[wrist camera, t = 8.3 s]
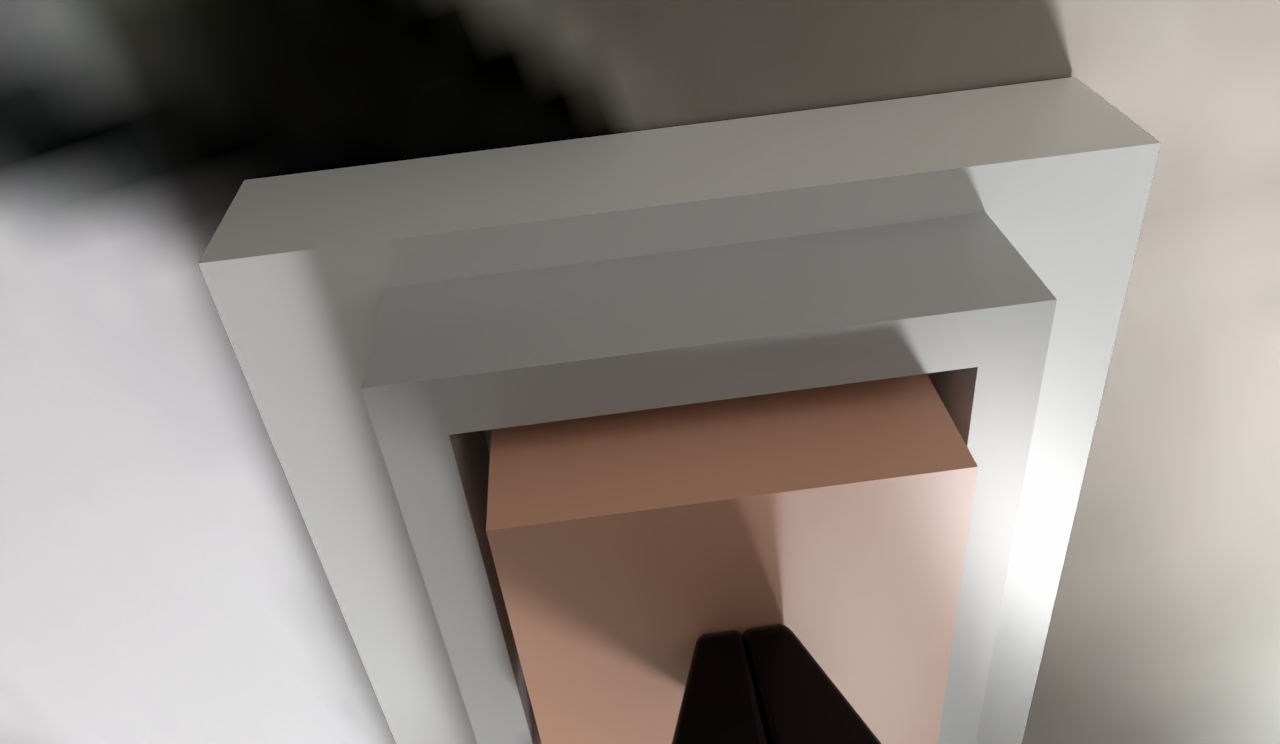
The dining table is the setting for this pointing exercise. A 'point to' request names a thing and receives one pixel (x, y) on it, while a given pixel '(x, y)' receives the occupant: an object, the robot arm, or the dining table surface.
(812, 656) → the robot arm
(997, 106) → the white long flat frame
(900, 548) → the terracotta square block
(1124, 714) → the dining table surface
